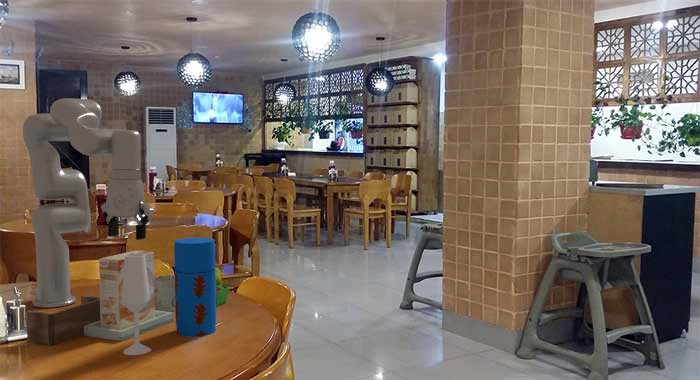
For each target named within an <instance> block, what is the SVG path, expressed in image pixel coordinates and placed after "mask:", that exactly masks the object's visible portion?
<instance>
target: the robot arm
mask: <svg viewBox="0 0 700 380" xmlns="http://www.w3.org/2000/svg"><path fill="white" fill-rule="evenodd" d="M49 110H50V111H49V112H50V113H34V114H31V115H29V116H28V117H26V118H25V120H24V121H23V124H22V125H23V126H22V137H23V142H24V144H25V146H26V150H27V151H28V154H29V159H30V168H31V178H32V179H31V180H32V186H33V187H32V188H33V192H34V196H35V197H36V198H37V199H39V200H42V201H56V200H58V201H59V200H68V202H67V203H52V204H45V205H40V206H38V207H36V208H35V209H34V210H33V211H32V213H31V226H32V229H33V233H34V240H35V254H36V281H37V282H36V285H37V287H35V288H34V290H31V292H30V295H32V296H35V299H34V300H32V306H34V307H36V308H46V309H47V308H59V307H64V306H69V305H72V304H74V303H75V302H76V301H77V298H76V296H74V295H71V274H70V271H71V270H70V249H69V245H68V243H67V242H66V240H65V239H64V238H63V237H62V234H67V233H68V234H69V233H76V232H83V231H86V230H87V229H88V228H89V226H90V223H91V208H90V201H89V192H88V185H87V184H88V183H87V180H86V177H85V175H84V174H83V173H82V172H81V171H79V170H78V169H73V168H72V169H71V168H70V169H63V168H62V166H61V158H60V154H59V152H58V151H57V149H56V148H55V147H54V145H53V144H51V143H50V142H69V143H70V145H71V146H72V148H74V150H76V151H78V152H79V153H81V154H82V155H85V156H90V157H103V156H108V157H111V170H110V172H109V174H110V175H111V179H110V180H109V182H108V186H107V193H106V202H104V203H103V204H101V205H100V208H101V211H102V213H103V214H102V215H103V216H104V218H105V222H107V231H108V232H107V234H108V237H109V238H110V237H115V236H118V235H119V221H118V220H117V219H118V218H125V219H134V221H135V222H136V225H135V239H136V240H137V241H138V240H144V239H147V237H146V235H147V232H146V231H147V229H146V227H147V225H148V223H149V221H150V220H151V218H152V215H153V213H154V209H153V207H151V206H150V205H148V204H147V203H146V195H145V189H144V188H145V187H144V184H143V180H142V176H141V175H142V170H141V169H142V168H141V167H142V166H141V164H142V163H141V162H142V161H141V158H142V157H141V155H142V154H141V151H142V150H141V148H142V147H141V143H142V142H141V138H142V137H141V133H139V131H137V130H133V129H132V130H131V129H130V130H129V129H127V130H126V129H123V128H100V123H101V121H102V117H103V111H102V108H101V106H100V104H99V103H98V102H97V101H95V100H93V99H90V98H71V97H70V98H68V97H65V98H60V99H57V100H55V101H54V102H53V103H52V105H50V109H49ZM110 175H109V176H110Z"/></svg>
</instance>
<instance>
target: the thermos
mask: <svg viewBox="0 0 700 380" xmlns="http://www.w3.org/2000/svg"><path fill="white" fill-rule="evenodd" d="M173 248H174V249H173V251H174V254H173V255H174V276H175V311H174V312H175V325H176V326H175V327H176V334H177V335H179V336H182V337H189V338H192V337H204V336H207V335H208V336H209V335H211V334H213V333H215V332H216V330H217V328H216V327H217V306H216V269H215V268H216V267H217V266H216V242H215V239H214V238H209V237H187V238H186V237H184V238H180V239H179V238H178V239H176V240H175V241H174V247H173Z"/></svg>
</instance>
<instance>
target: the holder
mask: <svg viewBox="0 0 700 380" xmlns="http://www.w3.org/2000/svg"><path fill="white" fill-rule="evenodd" d="M80 302H81V303H80V304H78V305H75V306H71V307H68V308H65V309H62V310H58V311H55V312H51V313H50V312H49V313H48V312H42V311H36V310H35V311H34V310H26V311H25V312H26V313H25V315H26V336H27V337H26V338H27V340H26V341H27V343H32V344H38V345H45V346H50V347H52V346H55V345H58V344H60V343H61V344H62V343H64V342H67V341H70V340H73V339H75V338H76V339H77V338H78V337H80V336H85V335H84V326H85V325H88V324H91V323H94V322H97V321H100V296H92V295H80Z"/></svg>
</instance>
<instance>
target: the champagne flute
mask: <svg viewBox="0 0 700 380" xmlns="http://www.w3.org/2000/svg"><path fill="white" fill-rule="evenodd" d="M149 300H150V293H149V285H148V276H147V268H146V260H145V254H127V255H125V260H124V274H123V288H122V303H123V304H124V305H125V307H126V308H128V309H129V310H130V311H131V312H133V313H134V337H133V338H134V343H133V344H131V345H130V346H129V347H127V348H125V349H124V350H123V351H122V353H123V354H124V355H127V356H128V355H129V356H139V355H144V354H147V353H149V352H151V351H152V348H150V347H149V346H147V345H144V344H142V343H140V334H139V312H140V311H141V310H142V309H143V308H144V307H145V306H146V305H147V304H148V302H149Z"/></svg>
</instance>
